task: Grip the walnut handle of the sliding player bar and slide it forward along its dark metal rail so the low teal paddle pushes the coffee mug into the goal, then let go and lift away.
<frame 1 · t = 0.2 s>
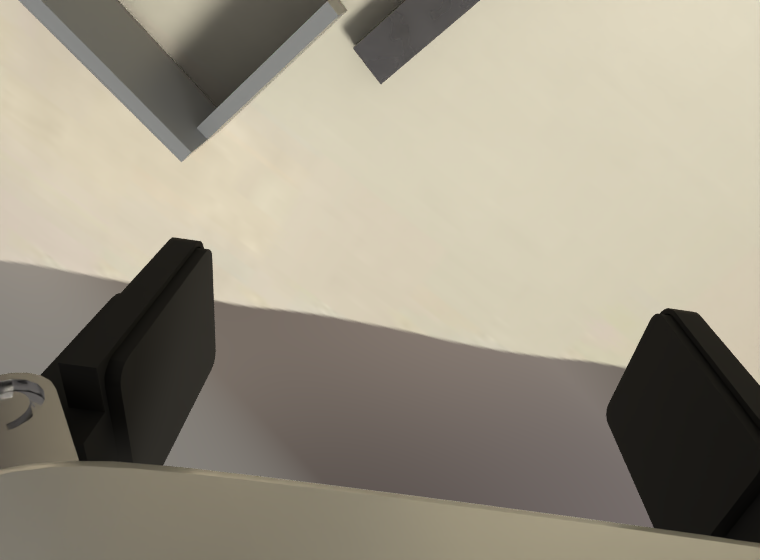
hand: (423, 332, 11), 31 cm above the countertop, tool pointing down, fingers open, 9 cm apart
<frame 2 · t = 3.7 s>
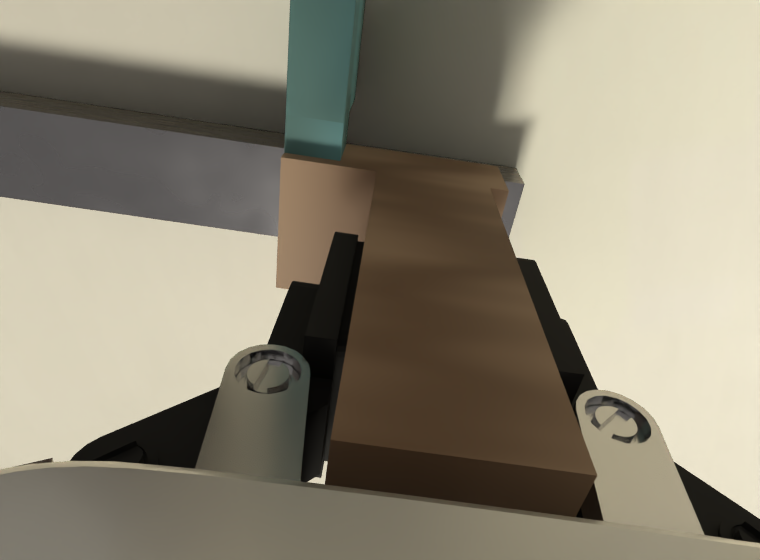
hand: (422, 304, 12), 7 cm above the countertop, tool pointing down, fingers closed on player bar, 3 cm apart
rail: (185, 163, 18), on the countertop
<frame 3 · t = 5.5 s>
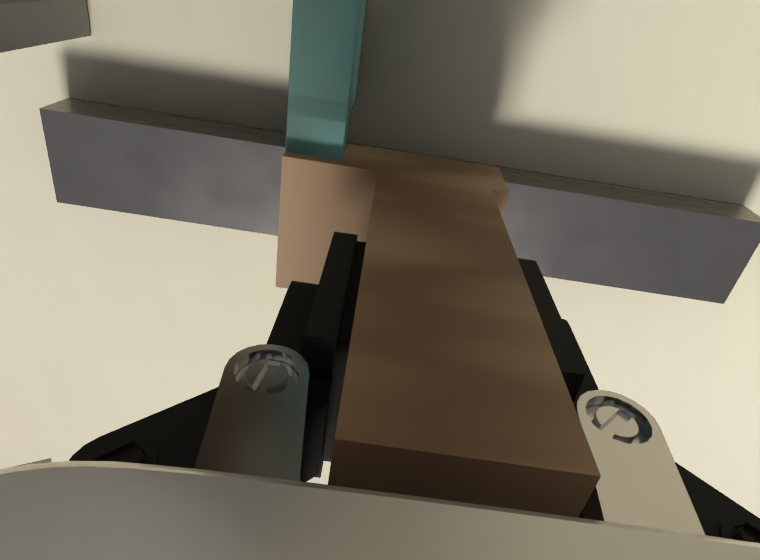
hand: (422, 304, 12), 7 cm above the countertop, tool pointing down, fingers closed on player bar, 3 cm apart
rail: (412, 196, 18), on the countertop
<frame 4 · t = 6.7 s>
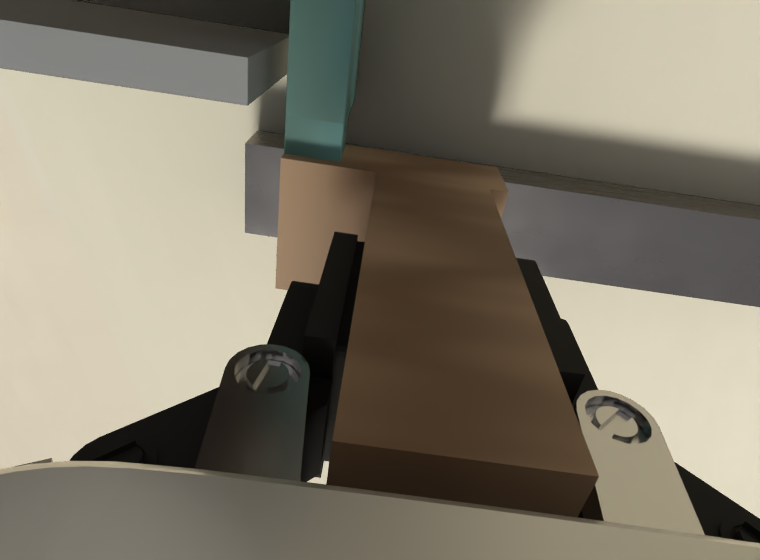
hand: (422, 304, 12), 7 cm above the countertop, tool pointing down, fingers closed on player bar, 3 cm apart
rail: (587, 223, 18), on the countertop
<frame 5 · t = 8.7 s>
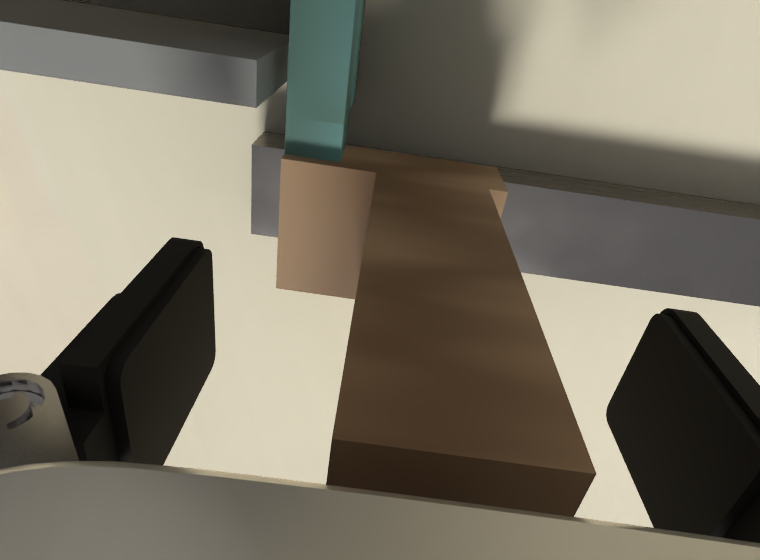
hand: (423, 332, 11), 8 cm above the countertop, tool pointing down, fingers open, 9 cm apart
rail: (591, 223, 18), on the countertop
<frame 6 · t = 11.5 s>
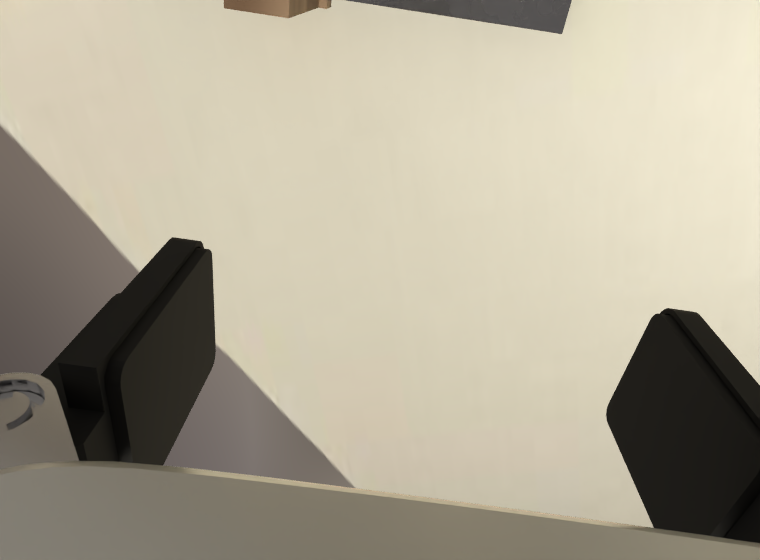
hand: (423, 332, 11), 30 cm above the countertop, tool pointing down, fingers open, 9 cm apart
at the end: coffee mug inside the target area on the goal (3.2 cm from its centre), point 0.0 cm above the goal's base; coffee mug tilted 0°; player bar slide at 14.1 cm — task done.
